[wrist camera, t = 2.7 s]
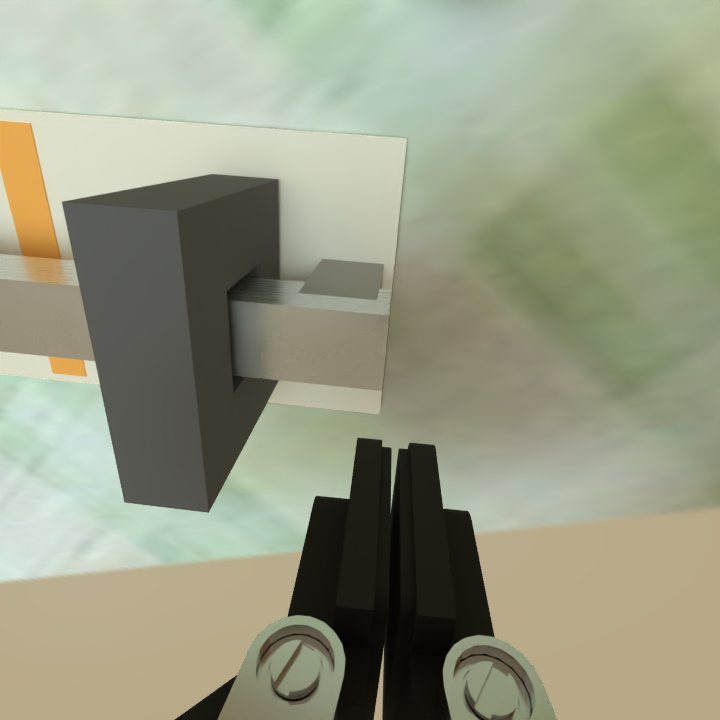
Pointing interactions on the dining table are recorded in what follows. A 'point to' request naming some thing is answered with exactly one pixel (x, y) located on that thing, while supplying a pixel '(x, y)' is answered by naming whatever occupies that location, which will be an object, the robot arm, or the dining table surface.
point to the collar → (173, 326)
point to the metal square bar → (246, 325)
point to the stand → (198, 158)
